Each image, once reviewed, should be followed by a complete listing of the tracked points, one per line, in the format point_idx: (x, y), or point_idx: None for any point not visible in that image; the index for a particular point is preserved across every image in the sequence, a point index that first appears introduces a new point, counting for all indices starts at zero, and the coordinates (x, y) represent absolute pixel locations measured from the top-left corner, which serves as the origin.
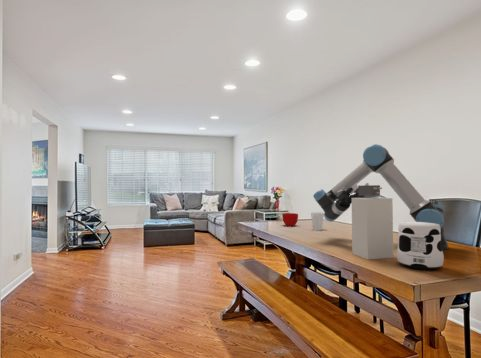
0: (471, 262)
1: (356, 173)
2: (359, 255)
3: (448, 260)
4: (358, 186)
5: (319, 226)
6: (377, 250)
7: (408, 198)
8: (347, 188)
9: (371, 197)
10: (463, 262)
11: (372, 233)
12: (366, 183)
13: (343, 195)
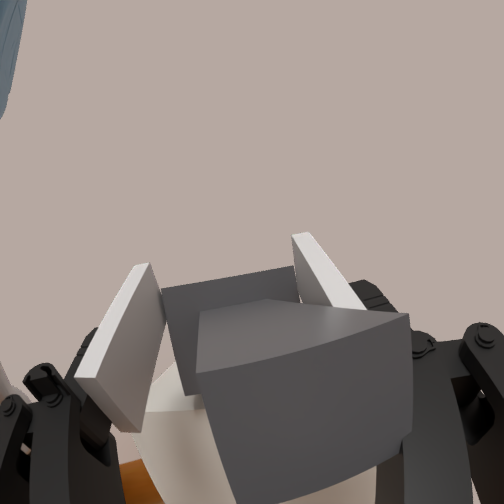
0: (119, 468)
1: None
2: None
3: (136, 486)
4: (293, 275)
5: None
6: None
7: (7, 387)
8: (407, 331)
9: (165, 410)
10: (131, 472)
11: None
12: (148, 266)
13: (481, 405)
